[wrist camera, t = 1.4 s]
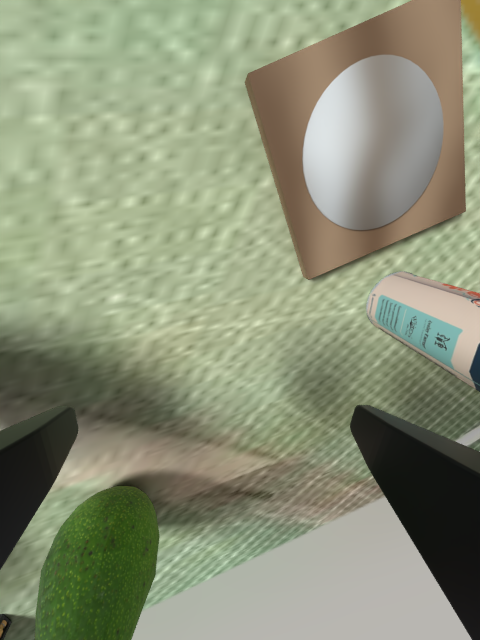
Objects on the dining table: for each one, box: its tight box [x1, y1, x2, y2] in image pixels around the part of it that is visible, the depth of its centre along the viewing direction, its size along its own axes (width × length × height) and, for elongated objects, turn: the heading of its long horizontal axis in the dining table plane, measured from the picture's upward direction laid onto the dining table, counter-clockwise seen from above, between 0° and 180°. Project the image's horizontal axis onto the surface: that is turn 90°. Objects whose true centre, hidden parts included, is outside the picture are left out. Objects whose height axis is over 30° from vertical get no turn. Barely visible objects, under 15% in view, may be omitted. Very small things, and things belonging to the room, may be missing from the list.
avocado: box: [35, 486, 159, 640], centre depth 19 cm, size 8×8×12 cm
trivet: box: [245, 0, 466, 280], centre depth 16 cm, size 12×12×1 cm
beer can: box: [366, 272, 480, 392], centre depth 16 cm, size 5×5×12 cm
